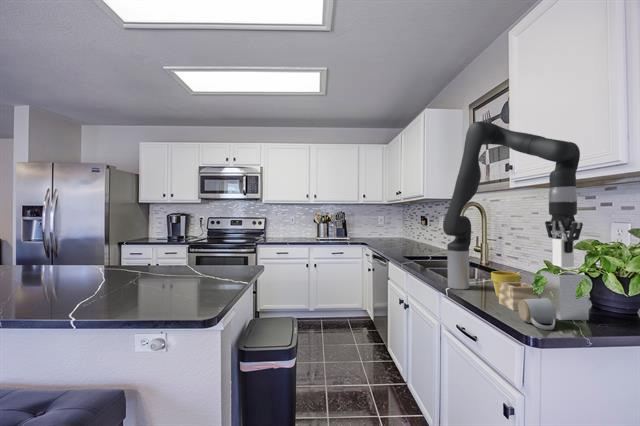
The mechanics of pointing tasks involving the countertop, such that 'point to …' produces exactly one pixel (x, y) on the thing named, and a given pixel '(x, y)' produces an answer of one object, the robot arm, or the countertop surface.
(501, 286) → the wooden box
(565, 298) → the tall grey box
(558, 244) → the plug
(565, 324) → the countertop surface
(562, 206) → the robot arm
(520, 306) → the ceramic mug
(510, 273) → the plant pot
